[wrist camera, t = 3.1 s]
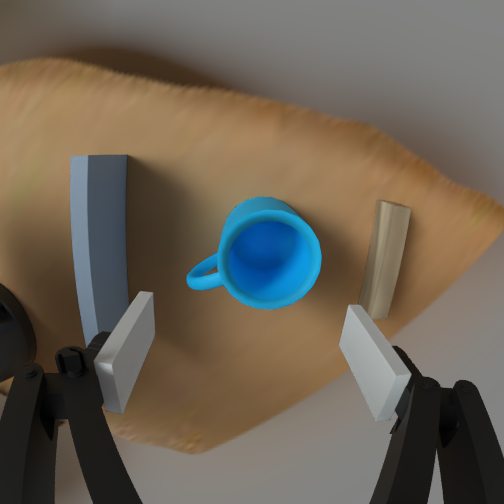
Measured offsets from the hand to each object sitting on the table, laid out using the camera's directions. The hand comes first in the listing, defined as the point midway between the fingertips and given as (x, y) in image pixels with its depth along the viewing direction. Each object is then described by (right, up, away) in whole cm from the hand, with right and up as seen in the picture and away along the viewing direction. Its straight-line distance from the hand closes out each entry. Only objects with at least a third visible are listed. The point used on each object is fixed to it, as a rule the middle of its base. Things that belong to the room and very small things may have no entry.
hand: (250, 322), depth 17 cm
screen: (-15, +5, +15) cm, 22 cm away
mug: (-1, +5, +16) cm, 16 cm away
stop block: (+14, +4, +16) cm, 22 cm away
